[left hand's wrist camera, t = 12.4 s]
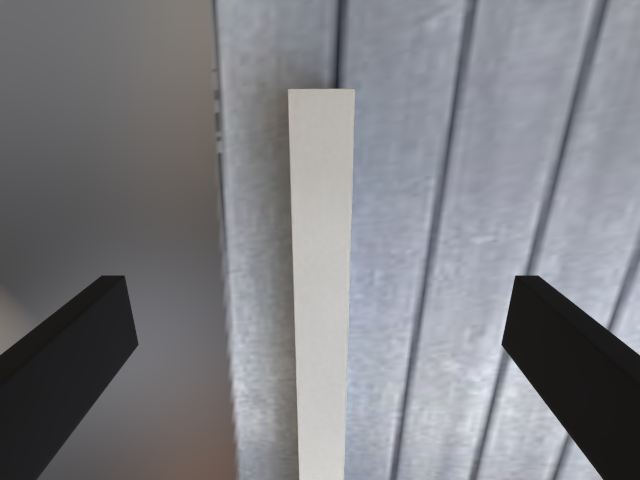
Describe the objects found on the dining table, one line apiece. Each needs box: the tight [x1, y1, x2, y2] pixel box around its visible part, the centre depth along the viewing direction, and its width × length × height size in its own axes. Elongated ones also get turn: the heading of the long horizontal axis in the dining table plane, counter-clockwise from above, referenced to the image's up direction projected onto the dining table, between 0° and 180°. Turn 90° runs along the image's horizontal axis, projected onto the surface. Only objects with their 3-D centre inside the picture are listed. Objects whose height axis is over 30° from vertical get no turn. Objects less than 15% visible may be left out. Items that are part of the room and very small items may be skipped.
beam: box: [288, 89, 355, 480], centre depth 40 cm, size 67×4×8 cm, turn 0°
